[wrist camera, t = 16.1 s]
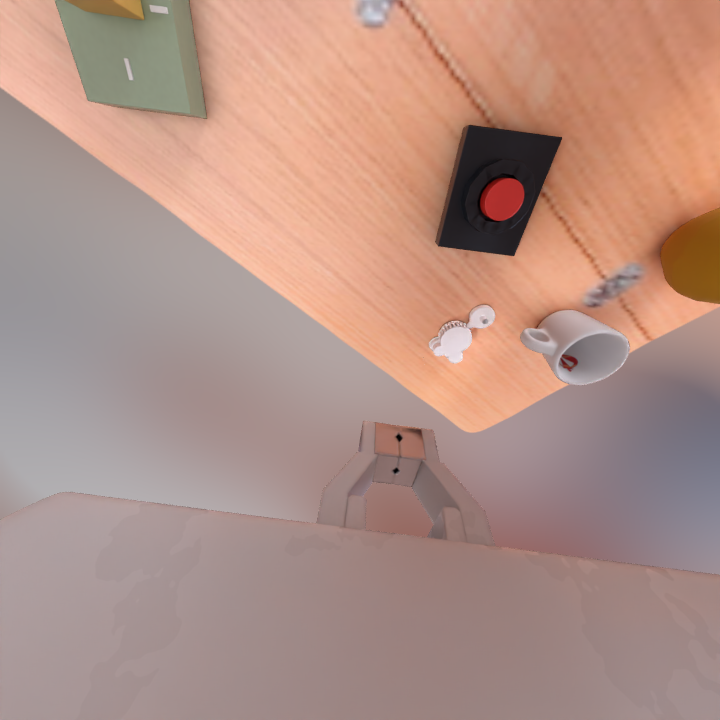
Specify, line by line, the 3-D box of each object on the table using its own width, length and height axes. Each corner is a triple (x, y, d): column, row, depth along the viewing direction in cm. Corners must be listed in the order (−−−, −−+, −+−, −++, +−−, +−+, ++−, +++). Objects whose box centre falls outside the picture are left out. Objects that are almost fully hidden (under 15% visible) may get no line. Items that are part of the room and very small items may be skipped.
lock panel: (47, -114, 22) (2, -151, 19) (174, -97, 22) (146, -132, 20) (112, 106, 29) (86, 100, 27) (207, 118, 29) (190, 114, 27)
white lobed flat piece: (477, 360, 44) (481, 369, 42) (422, 357, 44) (424, 365, 42) (496, 305, 39) (501, 311, 37) (433, 301, 39) (435, 307, 37)
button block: (463, 127, 28) (473, 122, 25) (551, 139, 28) (573, 135, 25) (435, 242, 35) (440, 250, 31) (507, 251, 35) (520, 260, 31)
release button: (487, 175, 28) (492, 175, 26) (523, 180, 28) (531, 180, 26) (474, 215, 30) (479, 218, 28) (508, 220, 30) (515, 223, 28)
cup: (499, 345, 42) (520, 378, 36) (521, 295, 38) (550, 322, 31) (570, 355, 42) (604, 389, 36) (601, 305, 38) (647, 335, 31)
